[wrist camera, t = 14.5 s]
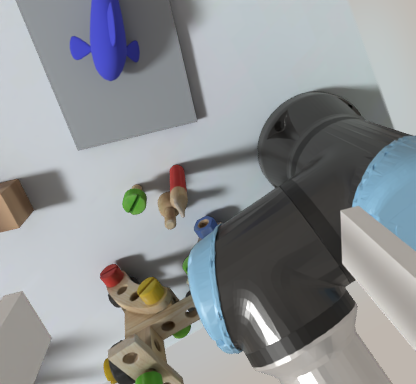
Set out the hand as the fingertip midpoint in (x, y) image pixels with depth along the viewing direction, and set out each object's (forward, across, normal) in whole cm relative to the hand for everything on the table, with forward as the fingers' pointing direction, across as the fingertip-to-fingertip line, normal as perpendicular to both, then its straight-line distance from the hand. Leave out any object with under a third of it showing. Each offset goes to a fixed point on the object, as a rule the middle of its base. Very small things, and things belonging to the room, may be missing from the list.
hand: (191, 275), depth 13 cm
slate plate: (+32, +5, -10) cm, 33 cm away
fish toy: (+31, +4, -14) cm, 34 cm away
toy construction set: (+32, +5, +19) cm, 38 cm away
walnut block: (+32, +25, +5) cm, 41 cm away
